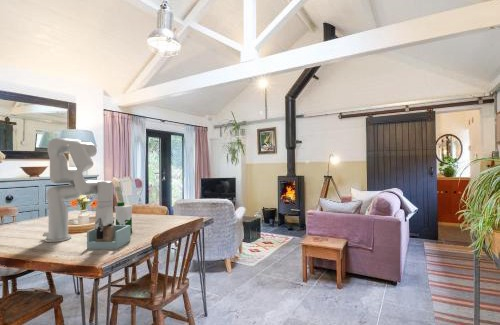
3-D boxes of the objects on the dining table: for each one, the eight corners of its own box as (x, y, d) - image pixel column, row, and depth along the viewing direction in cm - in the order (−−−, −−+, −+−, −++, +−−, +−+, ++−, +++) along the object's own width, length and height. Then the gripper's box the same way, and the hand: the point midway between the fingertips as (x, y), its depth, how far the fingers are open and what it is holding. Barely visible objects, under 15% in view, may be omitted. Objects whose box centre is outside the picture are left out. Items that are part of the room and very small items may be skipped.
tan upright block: (96, 246, 142) (96, 227, 142) (99, 244, 144) (99, 225, 144) (111, 246, 142) (111, 227, 142) (113, 244, 144) (113, 225, 144)
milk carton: (122, 232, 175) (122, 201, 175) (134, 232, 173) (134, 201, 173) (112, 235, 166) (112, 203, 166) (125, 236, 164) (125, 203, 165)
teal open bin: (86, 248, 140) (86, 231, 140) (103, 240, 155) (103, 225, 155) (117, 248, 140) (117, 231, 140) (130, 240, 155) (130, 225, 155)
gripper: (107, 201, 152) (107, 232, 152) (88, 206, 135) (88, 240, 134) (120, 201, 152) (120, 232, 152) (102, 206, 134) (102, 240, 134)
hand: (105, 236), depth 143 cm, fingers open, 9 cm apart
